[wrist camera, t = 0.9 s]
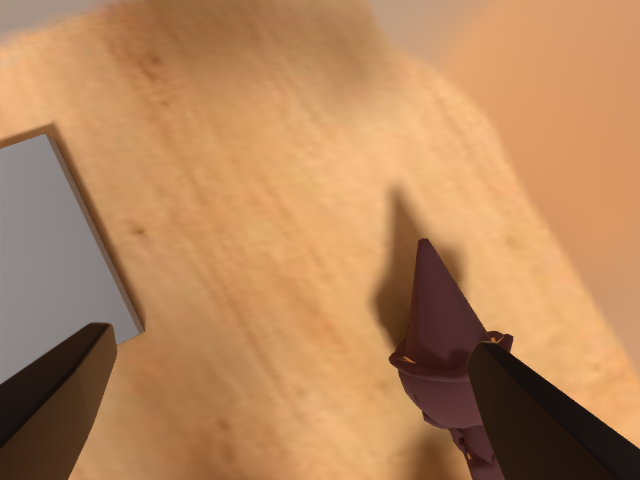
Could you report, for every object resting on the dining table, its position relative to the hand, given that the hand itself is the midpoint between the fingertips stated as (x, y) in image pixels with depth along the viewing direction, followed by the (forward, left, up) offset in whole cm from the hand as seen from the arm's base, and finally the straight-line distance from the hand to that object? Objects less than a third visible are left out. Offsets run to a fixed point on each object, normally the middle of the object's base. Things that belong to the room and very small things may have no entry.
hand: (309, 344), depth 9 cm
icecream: (-4, -10, -15) cm, 19 cm away
